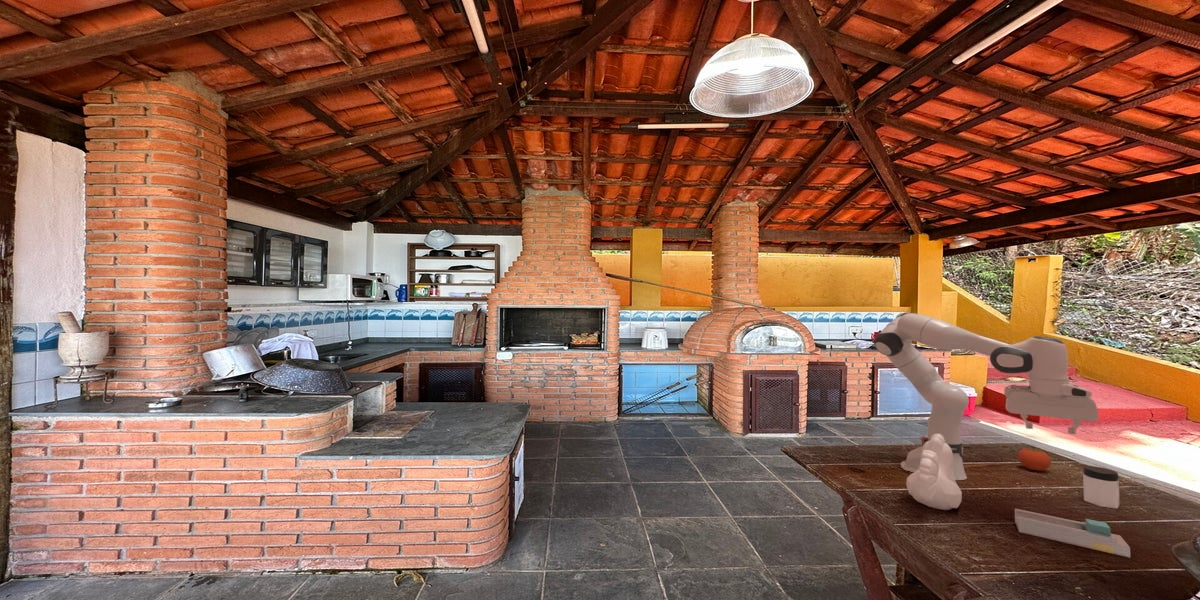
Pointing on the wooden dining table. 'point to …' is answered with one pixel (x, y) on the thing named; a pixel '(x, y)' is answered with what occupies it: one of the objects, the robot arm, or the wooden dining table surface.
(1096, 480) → the jar
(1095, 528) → the block
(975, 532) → the wooden dining table surface
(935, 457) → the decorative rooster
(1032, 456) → the tomato
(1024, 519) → the white long bar
